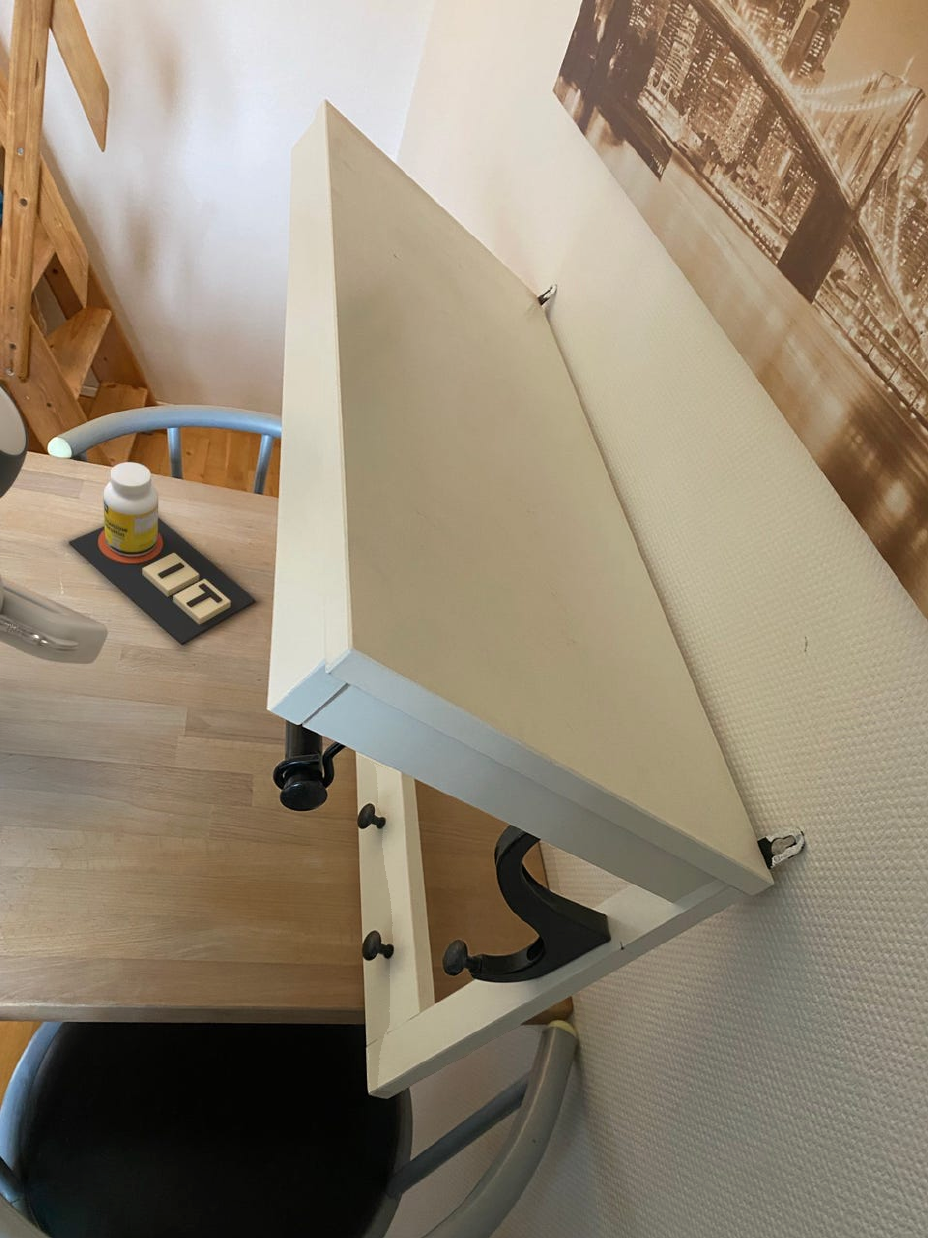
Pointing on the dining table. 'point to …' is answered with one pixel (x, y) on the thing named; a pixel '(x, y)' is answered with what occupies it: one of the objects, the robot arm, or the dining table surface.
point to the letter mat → (169, 582)
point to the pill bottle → (130, 510)
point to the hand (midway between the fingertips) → (35, 602)
